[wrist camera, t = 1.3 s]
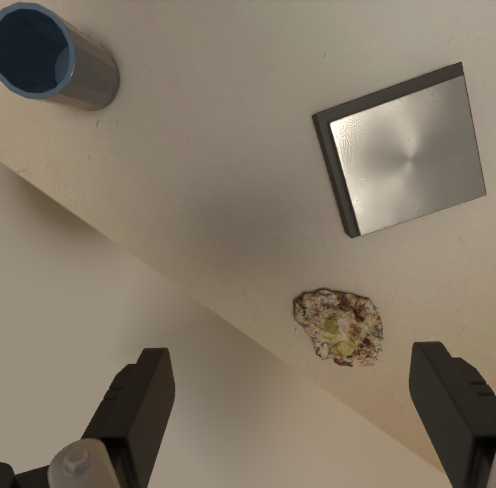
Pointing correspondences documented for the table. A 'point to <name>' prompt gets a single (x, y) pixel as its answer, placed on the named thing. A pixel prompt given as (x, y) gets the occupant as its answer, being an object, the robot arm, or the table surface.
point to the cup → (54, 60)
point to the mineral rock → (341, 327)
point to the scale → (402, 151)
